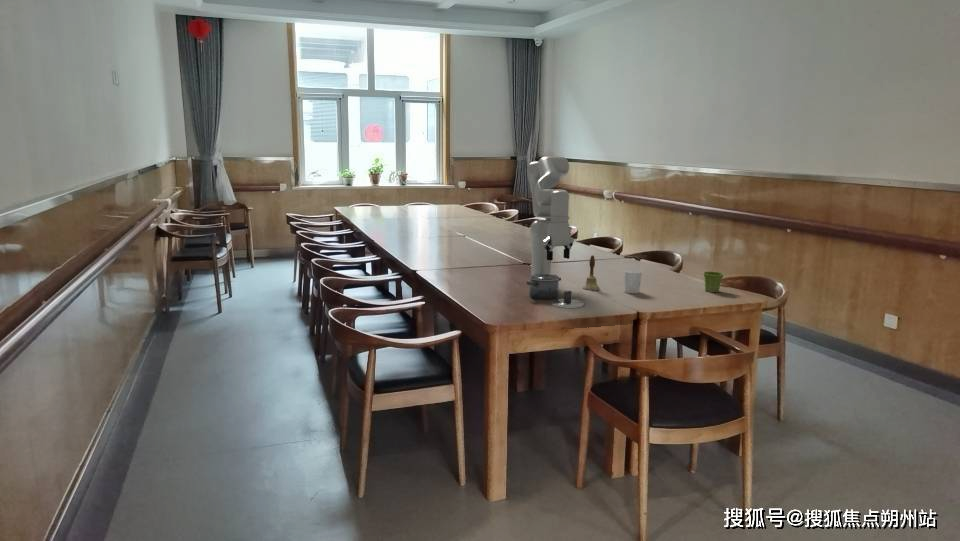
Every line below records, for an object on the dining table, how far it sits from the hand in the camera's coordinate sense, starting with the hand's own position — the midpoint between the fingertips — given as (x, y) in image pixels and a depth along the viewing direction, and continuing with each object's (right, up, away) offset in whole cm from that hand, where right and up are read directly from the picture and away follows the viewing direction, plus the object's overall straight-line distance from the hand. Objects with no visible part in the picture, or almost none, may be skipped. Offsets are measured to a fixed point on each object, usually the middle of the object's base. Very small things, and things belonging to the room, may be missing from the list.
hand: (558, 259), depth 279 cm
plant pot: (+77, -15, +28) cm, 83 cm away
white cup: (+38, -15, +24) cm, 47 cm away
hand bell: (+20, -14, +31) cm, 39 cm away
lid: (+4, -20, +1) cm, 20 cm away
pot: (-5, -17, +14) cm, 22 cm away
